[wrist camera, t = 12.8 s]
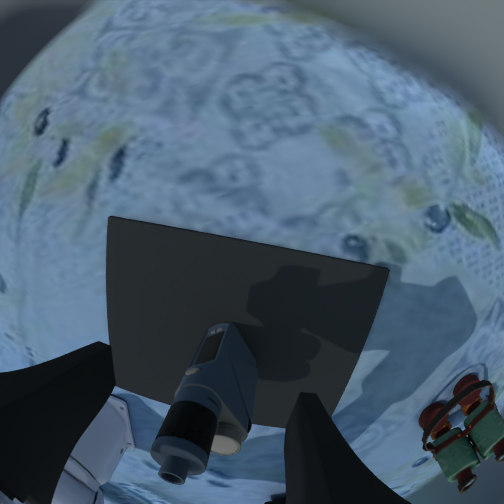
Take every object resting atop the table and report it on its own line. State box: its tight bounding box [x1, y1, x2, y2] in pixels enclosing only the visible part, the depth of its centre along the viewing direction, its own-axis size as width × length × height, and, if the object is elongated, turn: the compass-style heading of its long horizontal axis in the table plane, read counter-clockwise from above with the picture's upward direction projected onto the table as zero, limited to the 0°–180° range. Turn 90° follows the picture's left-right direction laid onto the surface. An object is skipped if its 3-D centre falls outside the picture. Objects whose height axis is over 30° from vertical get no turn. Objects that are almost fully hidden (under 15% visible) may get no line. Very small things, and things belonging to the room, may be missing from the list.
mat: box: [106, 216, 390, 428], centre depth 19 cm, size 16×20×1 cm
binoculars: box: [419, 375, 504, 494], centre depth 15 cm, size 9×11×10 cm
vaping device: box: [150, 322, 258, 485], centre depth 13 cm, size 3×5×12 cm, turn 26°
